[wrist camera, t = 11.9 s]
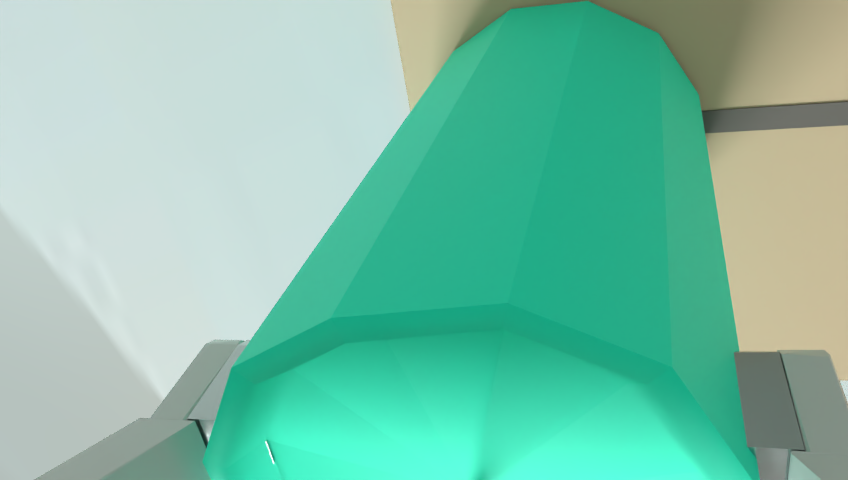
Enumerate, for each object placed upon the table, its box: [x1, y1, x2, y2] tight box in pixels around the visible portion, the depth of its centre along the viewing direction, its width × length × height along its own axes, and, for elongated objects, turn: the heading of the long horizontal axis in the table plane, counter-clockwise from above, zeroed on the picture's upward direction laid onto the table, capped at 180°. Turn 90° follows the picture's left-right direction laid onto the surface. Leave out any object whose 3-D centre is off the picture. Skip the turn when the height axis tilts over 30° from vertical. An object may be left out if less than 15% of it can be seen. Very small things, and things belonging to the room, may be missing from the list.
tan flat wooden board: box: [391, 0, 848, 380], centre depth 15 cm, size 18×14×1 cm
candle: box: [202, 1, 760, 480], centre depth 12 cm, size 6×6×12 cm
